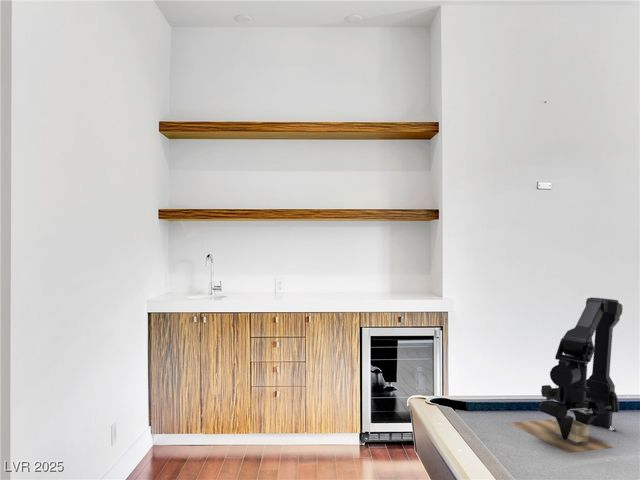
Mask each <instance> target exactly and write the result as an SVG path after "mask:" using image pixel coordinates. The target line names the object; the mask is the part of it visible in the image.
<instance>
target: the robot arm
mask: <svg viewBox="0 0 640 480" xmlns="http://www.w3.org/2000/svg"><path fill="white" fill-rule="evenodd" d="M585 302H586V303H585V307H584V309H583V311H582V313H581V315H580V317H579V319H578V321H577V322H576V325H575V327H573V328H571V329H569V330H567V331H566V332H565V334H564V335H563V337H562V338H561V339H560V342H559V345H558V348H557V350H556V354H555V357H554V358H555V359H554V360H557V361H558V364H556V365H554V366H553V367H552V368H551V369H550V371H549V377H550V380H551V381H552V383H553V384H554V385H555V386H557V387H552V386H551V384H548V385H546V384H545V385H541V389H540V393H541V396H542V398H545V399H546V400H542V401H541V402H540V403H539V412H541V413H544V414H545V415H548V416H550V417H554V419H555V420H556V419H557V422H558V424H559V427H560V431H561V434H562V437H563V439H565V440H567V438H568V436H569V433H570V429H571V426H572V423H573V420H576V421H578V422H581V423H583V424H586V425H588V426H590V425H592V426H594V427H601V428H604V429H606V430H608V429H609V428H610V426H612V425H613V424H612V422H613V421H612V420H613V413H619V410H620V406H619V405H620V402H619V400H618V396H617V392H616V385H615V384H614V382H613V380H612V378H611V376H610V372H611V360H612V359H611V357H612V346H613V345H612V342H613V332H614V330H613V329H614V327H615V326H616V325H617V324H618V323H619V322H620V318H621V316H622V314H623V304H622V303H619V302H620V301H619V300H618V299H611V298H604V297H603V298H602V297H591V296H590V297H587V299H586V301H585ZM593 335H594V336H593ZM593 337H594V342H593V339H592V338H593ZM592 357H593V358H592ZM592 360H593V361H592ZM591 361H592V373H591V375H590V376H589V377H588V378H587V376H588V364H589V363H591ZM554 400H555V401H554ZM571 412H572V413H573V415H574V417H573V416H572V415H571Z"/></svg>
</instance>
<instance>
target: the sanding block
mask: <svg viewBox="0 0 640 480" xmlns="http://www.w3.org/2000/svg"><path fill="white" fill-rule="evenodd" d="M555 422H556V425H555V436H556V437H558V438H560V439H562V440H564V441H566V442H569V443H571V444H573V445H575V446H579V445H588V437H589V432H590V425H586V424H583V423H581V422H578V421H576V420H575V419H573V423H572V426H571V429H570V433H569V436H568V438H567V440H565V439H563V437H562V434H561V431H560V427H559V424H558V422H557V419H556V418H555Z"/></svg>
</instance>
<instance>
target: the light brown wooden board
mask: <svg viewBox="0 0 640 480" xmlns="http://www.w3.org/2000/svg"><path fill="white" fill-rule="evenodd" d="M508 424H510V425H511V426H513V427H515V428H517V429H519V430H522V431H523V432H526V433H527V434H530V435H532V436H534V437H536V438H537V439H539V440H542V441H544V442H546V443H548V444H549V445H551V446H554V447H556V448H558V449H559V450H562V451H564V452H566V453H568V454H570V453H571V454H572V453H579V452H588V451H596V450H599V451H600V450H606V449H614V447H613V446H611V445H608V444H607V443H604V442H602V441H599V440H598V439H595V438H594V437H593V438H592V437H590V436H588V445H579V446H575V445H573V444H571V443H569V442H566V441H564V440H562V439H560V438H558V437H556V436H555V425H556V421H554V420H551V419H542V420H541V419H539V420H538V419H537V420H528V421H515V422H508Z"/></svg>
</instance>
